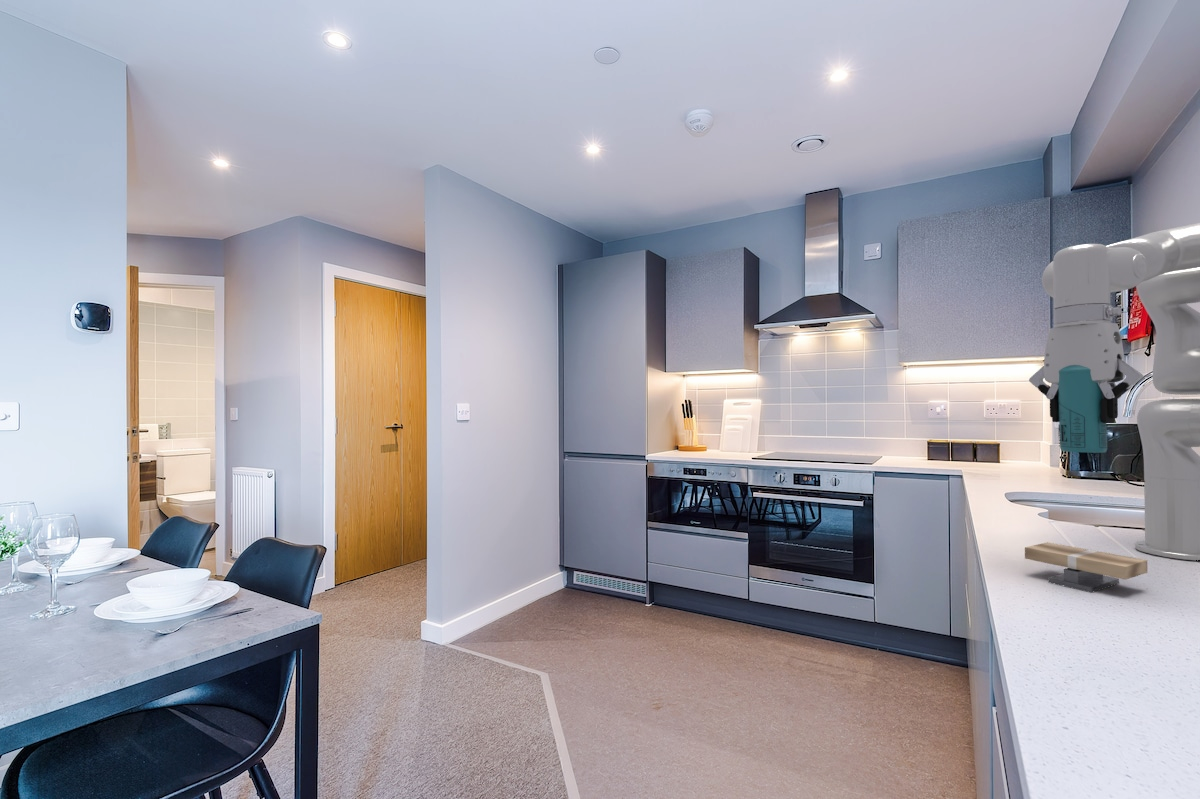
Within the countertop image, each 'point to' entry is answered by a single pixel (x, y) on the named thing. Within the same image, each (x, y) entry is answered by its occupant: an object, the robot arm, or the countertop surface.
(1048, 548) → the beam
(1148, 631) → the countertop surface
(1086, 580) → the fulcrum
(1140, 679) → the countertop surface
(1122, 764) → the countertop surface
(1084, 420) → the beverage bottle
